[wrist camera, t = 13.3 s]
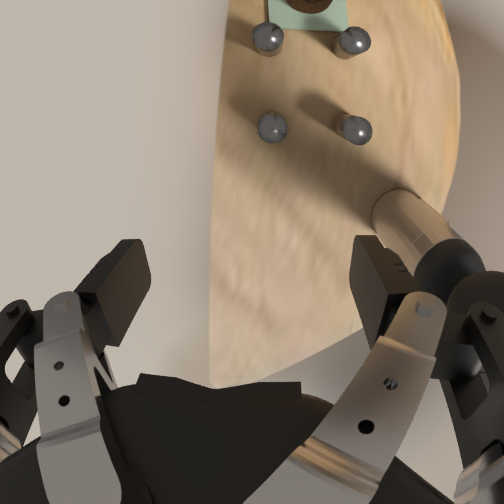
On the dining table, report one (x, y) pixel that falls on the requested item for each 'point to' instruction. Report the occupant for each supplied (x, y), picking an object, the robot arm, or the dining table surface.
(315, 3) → the wooden pepper mill
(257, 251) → the dining table surface
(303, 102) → the dining table surface
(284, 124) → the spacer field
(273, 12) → the green mat
